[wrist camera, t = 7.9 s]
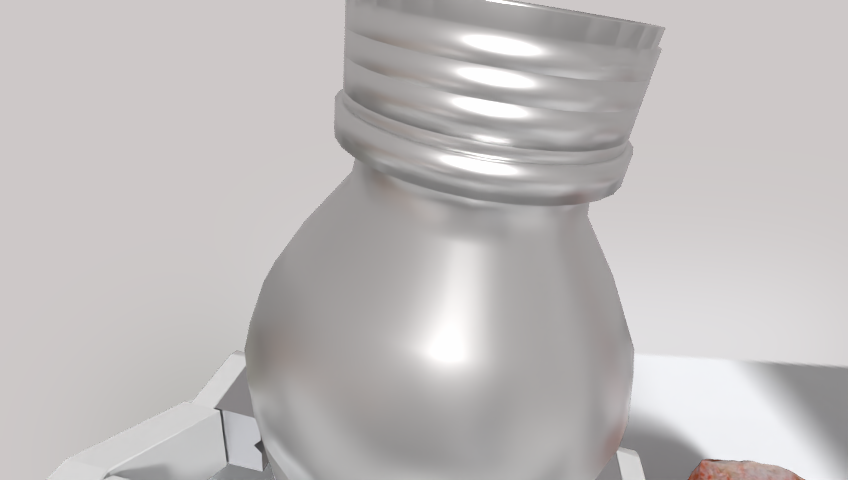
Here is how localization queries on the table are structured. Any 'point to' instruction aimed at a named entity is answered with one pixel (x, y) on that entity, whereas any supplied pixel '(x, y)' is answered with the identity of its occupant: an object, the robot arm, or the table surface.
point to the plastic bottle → (458, 253)
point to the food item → (740, 471)
